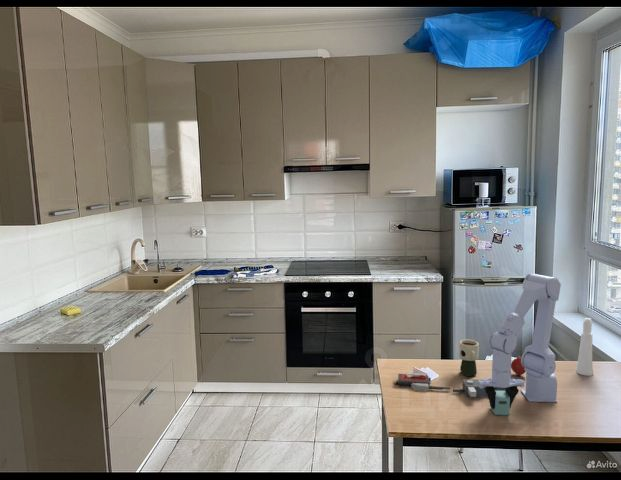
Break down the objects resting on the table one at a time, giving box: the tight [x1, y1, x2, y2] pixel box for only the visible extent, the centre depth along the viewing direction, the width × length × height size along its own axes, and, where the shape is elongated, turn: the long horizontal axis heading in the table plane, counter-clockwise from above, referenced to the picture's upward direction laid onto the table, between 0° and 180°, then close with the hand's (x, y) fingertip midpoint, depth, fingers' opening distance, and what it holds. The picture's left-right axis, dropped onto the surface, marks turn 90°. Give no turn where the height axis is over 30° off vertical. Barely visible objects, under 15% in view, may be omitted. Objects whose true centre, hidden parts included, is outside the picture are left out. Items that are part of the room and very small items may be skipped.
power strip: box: [452, 378, 506, 398], centre depth 167 cm, size 21×6×5 cm, turn 86°
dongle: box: [468, 387, 477, 398], centre depth 163 cm, size 2×4×2 cm, turn 176°
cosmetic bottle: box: [575, 317, 594, 377], centre depth 180 cm, size 6×6×22 cm
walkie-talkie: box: [395, 372, 451, 392], centre depth 174 cm, size 9×4×20 cm
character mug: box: [458, 339, 480, 377], centre depth 182 cm, size 11×7×13 cm, turn 0°
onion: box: [511, 355, 526, 377], centre depth 180 cm, size 6×6×8 cm
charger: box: [490, 391, 511, 416], centre depth 155 cm, size 4×7×6 cm, turn 176°
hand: (500, 407), depth 154 cm, fingers closed on charger, 5 cm apart
